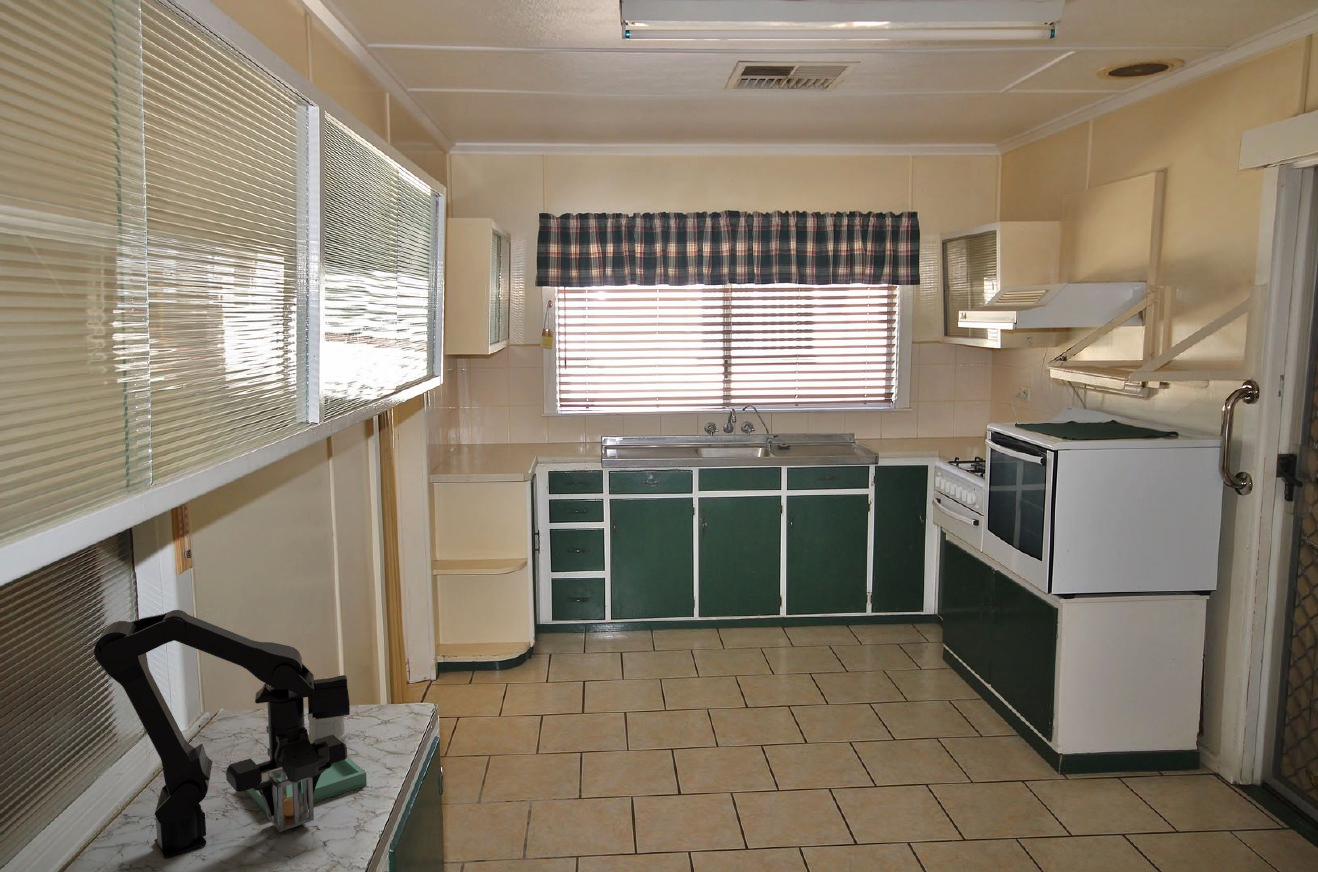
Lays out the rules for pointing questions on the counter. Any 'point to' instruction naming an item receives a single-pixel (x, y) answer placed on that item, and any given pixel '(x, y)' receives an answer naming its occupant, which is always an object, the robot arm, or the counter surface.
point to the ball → (288, 807)
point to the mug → (326, 728)
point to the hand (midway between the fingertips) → (290, 809)
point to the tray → (325, 783)
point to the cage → (299, 815)
